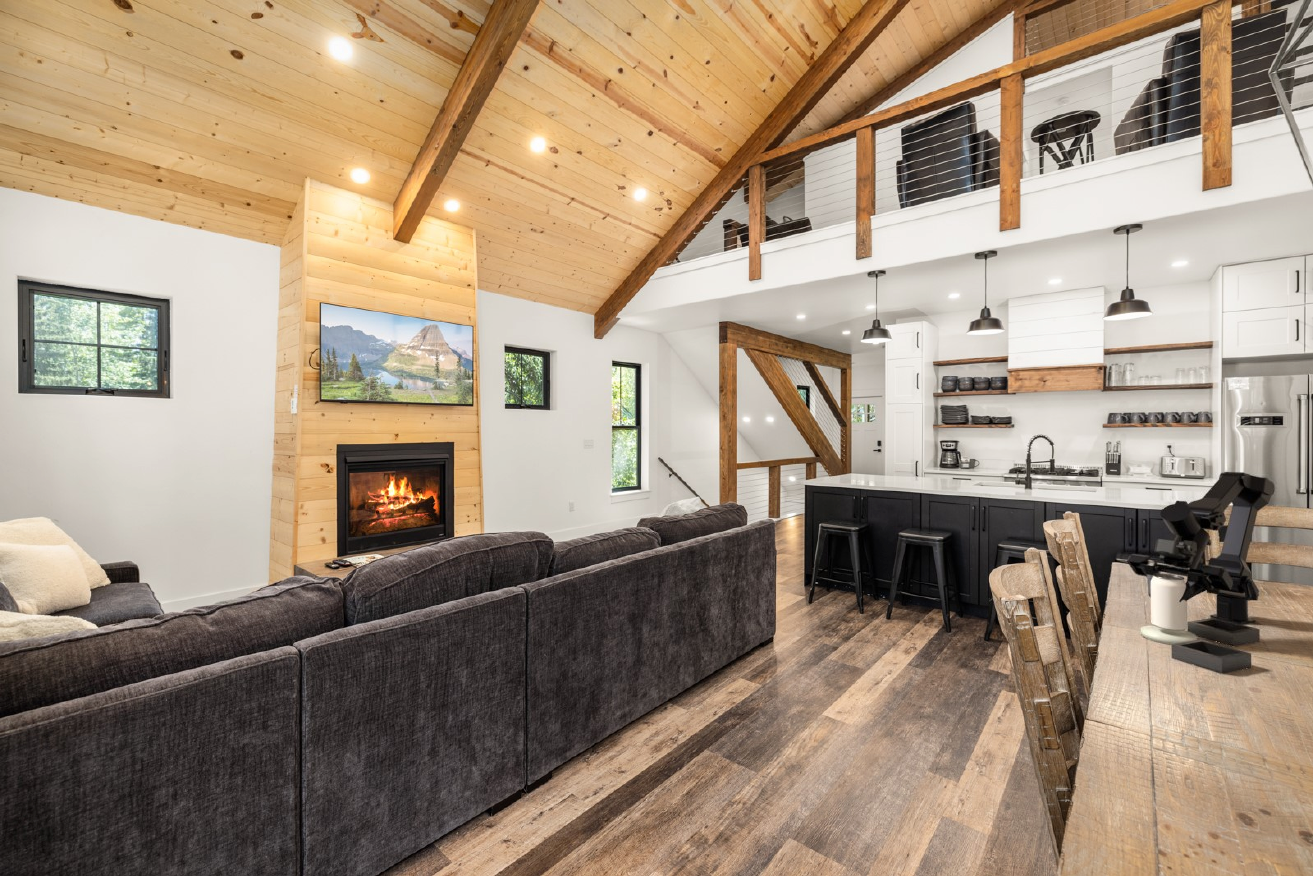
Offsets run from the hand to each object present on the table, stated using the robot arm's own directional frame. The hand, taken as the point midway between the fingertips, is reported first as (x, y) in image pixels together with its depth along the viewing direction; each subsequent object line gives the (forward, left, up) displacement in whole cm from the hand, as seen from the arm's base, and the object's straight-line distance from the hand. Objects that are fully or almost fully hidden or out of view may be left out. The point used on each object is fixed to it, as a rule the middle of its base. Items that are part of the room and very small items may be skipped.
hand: (1164, 599), depth 138 cm
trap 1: (+7, +13, -9) cm, 17 cm away
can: (-1, 0, -7) cm, 7 cm away
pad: (-1, 0, -9) cm, 9 cm away
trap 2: (-13, +4, -9) cm, 17 cm away
